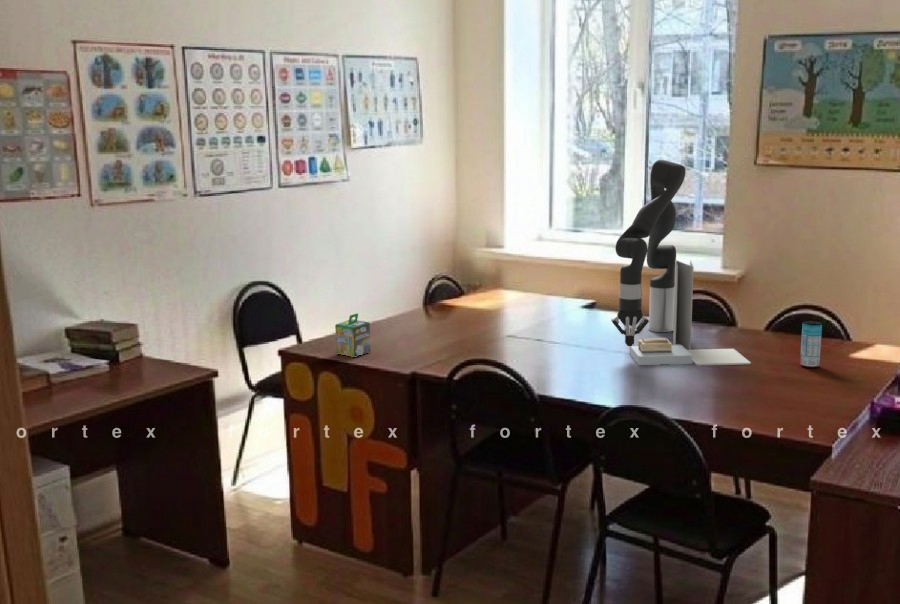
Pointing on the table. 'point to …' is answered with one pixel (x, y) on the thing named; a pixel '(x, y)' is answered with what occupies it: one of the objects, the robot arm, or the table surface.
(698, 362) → the mat
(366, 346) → the chalk box
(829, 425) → the table surface
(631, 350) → the large white box
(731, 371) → the table surface
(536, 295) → the table surface
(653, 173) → the robot arm
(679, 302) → the grey panel
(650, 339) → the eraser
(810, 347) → the beverage can
